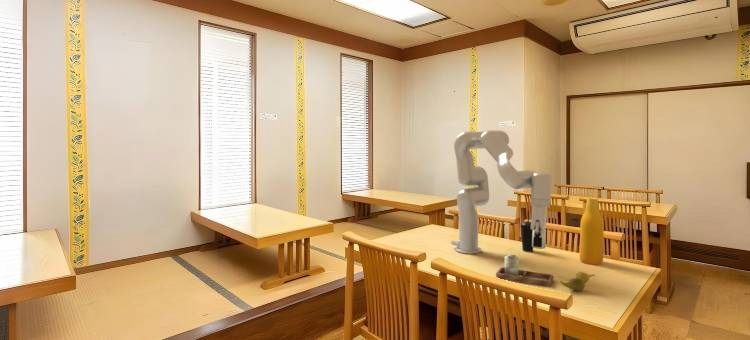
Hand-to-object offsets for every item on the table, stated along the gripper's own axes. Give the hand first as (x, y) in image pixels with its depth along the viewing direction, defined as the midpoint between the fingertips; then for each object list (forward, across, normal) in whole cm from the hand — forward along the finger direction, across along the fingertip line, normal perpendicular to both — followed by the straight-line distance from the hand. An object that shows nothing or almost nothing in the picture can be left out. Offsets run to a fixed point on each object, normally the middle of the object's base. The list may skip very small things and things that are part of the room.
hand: (538, 244), depth 163 cm
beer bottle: (+12, -25, +19) cm, 33 cm away
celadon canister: (+1, 0, 0) cm, 1 cm away
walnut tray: (+11, +12, -3) cm, 17 cm away
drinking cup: (+12, -30, -9) cm, 34 cm away
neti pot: (+11, +16, +16) cm, 25 cm away
